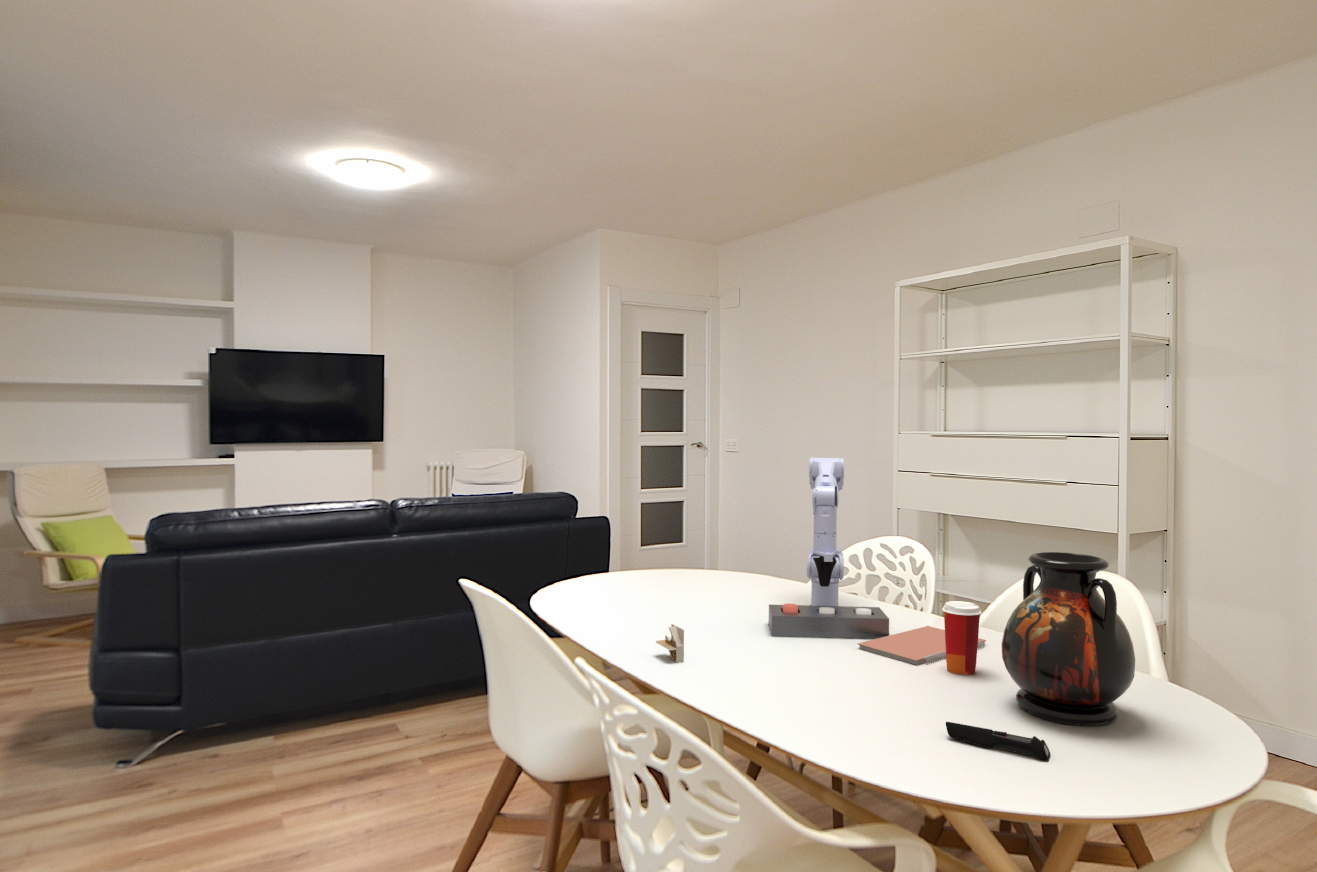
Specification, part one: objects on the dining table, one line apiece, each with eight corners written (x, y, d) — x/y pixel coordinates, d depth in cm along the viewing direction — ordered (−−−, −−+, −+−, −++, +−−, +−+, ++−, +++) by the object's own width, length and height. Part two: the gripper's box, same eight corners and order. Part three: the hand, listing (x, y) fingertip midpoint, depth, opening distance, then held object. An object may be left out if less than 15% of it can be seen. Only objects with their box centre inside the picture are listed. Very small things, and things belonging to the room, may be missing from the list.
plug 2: (854, 627, 197) (854, 607, 197) (869, 627, 197) (869, 608, 197) (856, 631, 194) (857, 611, 194) (872, 631, 193) (872, 611, 193)
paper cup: (974, 665, 169) (975, 600, 169) (985, 677, 161) (986, 609, 161) (936, 664, 170) (937, 599, 169) (946, 675, 162) (947, 608, 162)
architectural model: (670, 666, 169) (670, 631, 169) (655, 657, 175) (655, 624, 175) (684, 664, 170) (684, 629, 170) (669, 655, 177) (669, 622, 176)
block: (768, 623, 203) (768, 604, 203) (878, 626, 201) (879, 607, 201) (771, 636, 191) (771, 615, 191) (888, 639, 189) (889, 618, 189)
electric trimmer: (948, 735, 132) (948, 716, 132) (1051, 755, 124) (1051, 735, 124) (943, 743, 129) (943, 723, 129) (1048, 764, 121) (1048, 743, 121)
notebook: (920, 669, 168) (920, 660, 168) (857, 650, 181) (857, 642, 181) (990, 648, 184) (990, 639, 184) (927, 632, 198) (927, 624, 198)
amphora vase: (975, 698, 149) (977, 550, 148) (1060, 685, 156) (1063, 545, 156) (1071, 741, 129) (1073, 571, 128) (1164, 724, 136) (1167, 563, 136)
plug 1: (817, 626, 198) (818, 606, 198) (833, 626, 198) (833, 607, 198) (819, 630, 194) (820, 610, 194) (835, 630, 194) (835, 610, 194)
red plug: (782, 623, 199) (782, 603, 199) (797, 623, 199) (797, 603, 199) (783, 627, 195) (783, 606, 195) (798, 627, 195) (798, 607, 195)
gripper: (845, 536, 193) (844, 591, 193) (836, 529, 207) (836, 581, 207) (816, 535, 194) (815, 591, 193) (809, 529, 208) (809, 580, 208)
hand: (824, 586), depth 200 cm, fingers closed
